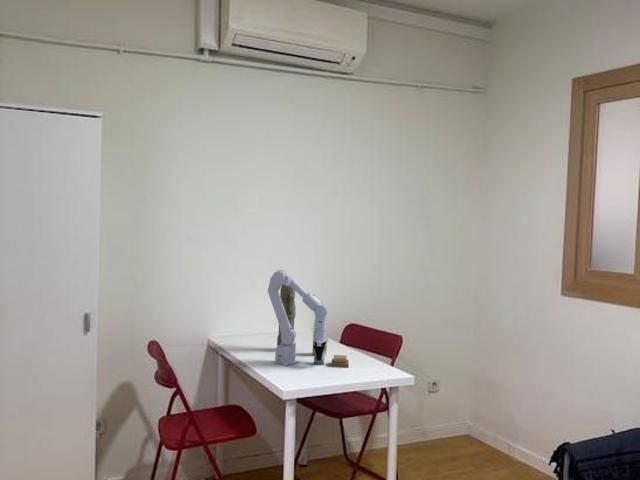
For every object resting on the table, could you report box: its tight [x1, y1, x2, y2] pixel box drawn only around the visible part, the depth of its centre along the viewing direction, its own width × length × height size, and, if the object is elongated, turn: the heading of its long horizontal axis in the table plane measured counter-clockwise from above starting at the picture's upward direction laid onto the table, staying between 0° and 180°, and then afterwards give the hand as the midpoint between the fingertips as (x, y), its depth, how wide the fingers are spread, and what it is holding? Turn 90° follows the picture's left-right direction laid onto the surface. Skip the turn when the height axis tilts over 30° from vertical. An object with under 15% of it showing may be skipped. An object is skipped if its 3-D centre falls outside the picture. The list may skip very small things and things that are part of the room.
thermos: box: [276, 283, 297, 347], centre depth 296 cm, size 9×12×35 cm
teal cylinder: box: [313, 355, 325, 366], centre depth 270 cm, size 5×5×4 cm
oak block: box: [333, 354, 348, 363], centre depth 270 cm, size 6×6×2 cm
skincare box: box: [311, 330, 328, 356], centre depth 289 cm, size 6×4×12 cm
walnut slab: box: [330, 358, 350, 369], centre depth 270 cm, size 8×8×2 cm
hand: (319, 358), depth 270 cm, fingers open, 7 cm apart
